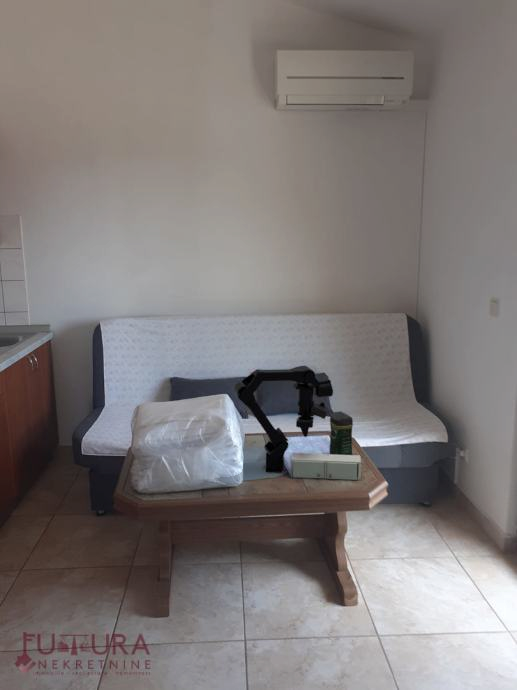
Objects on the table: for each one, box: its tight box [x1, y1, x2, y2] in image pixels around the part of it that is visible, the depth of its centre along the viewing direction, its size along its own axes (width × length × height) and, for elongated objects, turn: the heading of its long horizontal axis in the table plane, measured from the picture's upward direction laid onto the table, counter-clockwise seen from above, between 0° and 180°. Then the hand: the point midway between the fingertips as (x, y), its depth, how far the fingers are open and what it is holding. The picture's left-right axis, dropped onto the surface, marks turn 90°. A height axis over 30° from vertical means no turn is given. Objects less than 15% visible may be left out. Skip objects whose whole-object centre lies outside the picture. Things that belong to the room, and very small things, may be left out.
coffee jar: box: [329, 411, 354, 455], centre depth 226 cm, size 10×8×19 cm
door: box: [290, 459, 325, 479], centre depth 209 cm, size 12×2×7 cm, turn 83°
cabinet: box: [290, 452, 362, 481], centre depth 211 cm, size 26×8×7 cm, turn 83°
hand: (305, 436), depth 219 cm, fingers closed
